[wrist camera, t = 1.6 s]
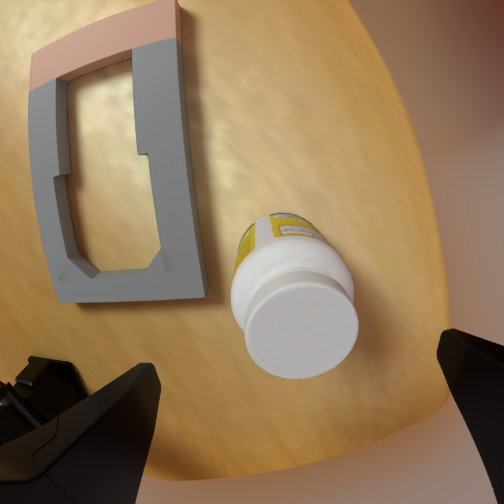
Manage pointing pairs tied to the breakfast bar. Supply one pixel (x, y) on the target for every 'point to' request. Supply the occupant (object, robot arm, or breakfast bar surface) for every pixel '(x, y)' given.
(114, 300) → the keyhole board
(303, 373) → the supplement bottle
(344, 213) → the breakfast bar surface
